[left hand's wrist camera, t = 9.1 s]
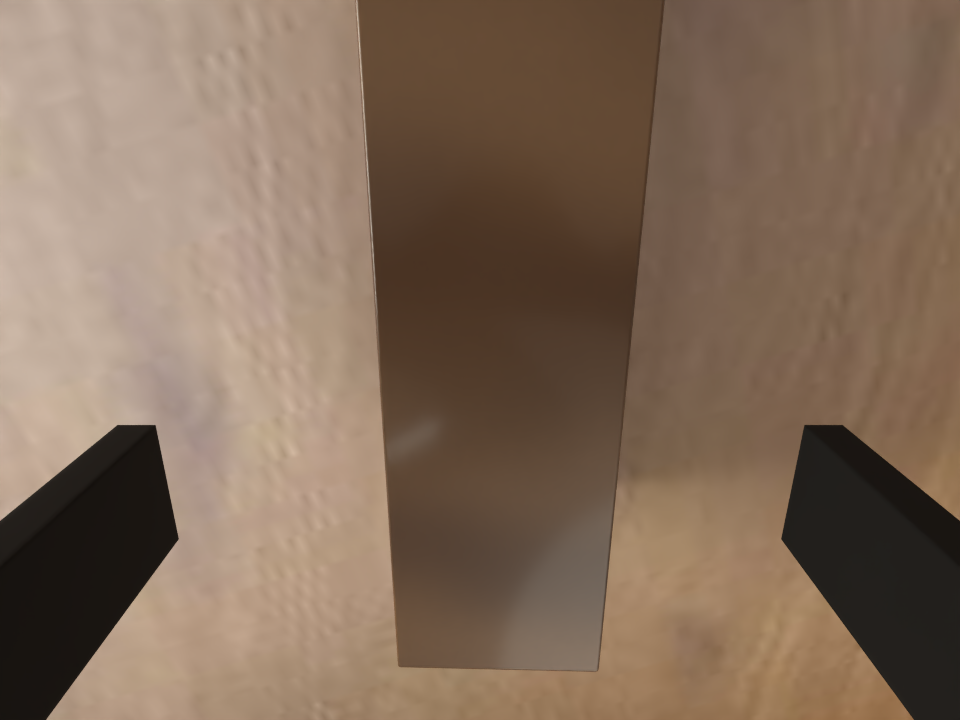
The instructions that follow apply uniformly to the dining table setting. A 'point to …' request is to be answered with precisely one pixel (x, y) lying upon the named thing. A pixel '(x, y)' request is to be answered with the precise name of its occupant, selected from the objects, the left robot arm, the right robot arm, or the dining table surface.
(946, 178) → the dining table surface
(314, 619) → the dining table surface
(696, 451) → the dining table surface
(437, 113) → the plank
